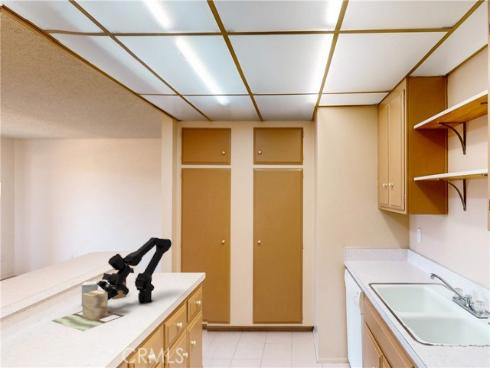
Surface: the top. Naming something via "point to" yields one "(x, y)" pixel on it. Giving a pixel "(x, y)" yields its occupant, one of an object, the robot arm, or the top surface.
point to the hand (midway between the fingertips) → (102, 302)
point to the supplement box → (89, 287)
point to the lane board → (83, 321)
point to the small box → (120, 293)
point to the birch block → (95, 304)
